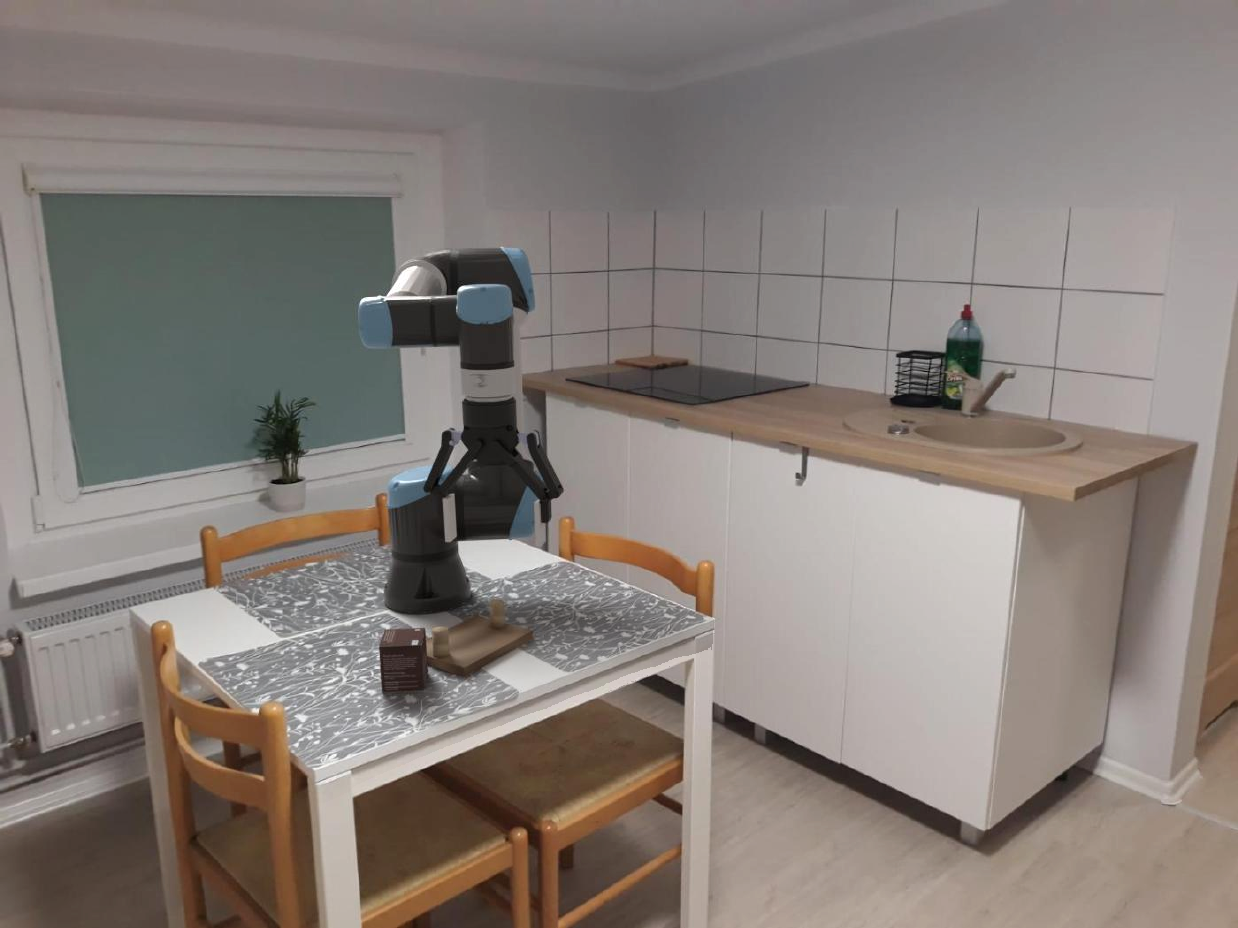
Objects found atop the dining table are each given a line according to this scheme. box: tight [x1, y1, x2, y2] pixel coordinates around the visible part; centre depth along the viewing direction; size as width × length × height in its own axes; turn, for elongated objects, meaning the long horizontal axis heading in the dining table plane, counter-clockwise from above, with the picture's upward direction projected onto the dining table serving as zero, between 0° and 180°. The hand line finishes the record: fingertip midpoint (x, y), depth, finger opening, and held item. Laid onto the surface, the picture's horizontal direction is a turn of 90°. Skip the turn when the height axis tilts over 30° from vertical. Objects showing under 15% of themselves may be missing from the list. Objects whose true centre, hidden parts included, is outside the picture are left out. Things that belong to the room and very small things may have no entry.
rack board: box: [426, 598, 534, 678], centre depth 153 cm, size 12×16×6 cm
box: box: [378, 627, 429, 694], centre depth 141 cm, size 6×6×7 cm
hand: (495, 541), depth 142 cm, fingers open, 13 cm apart
